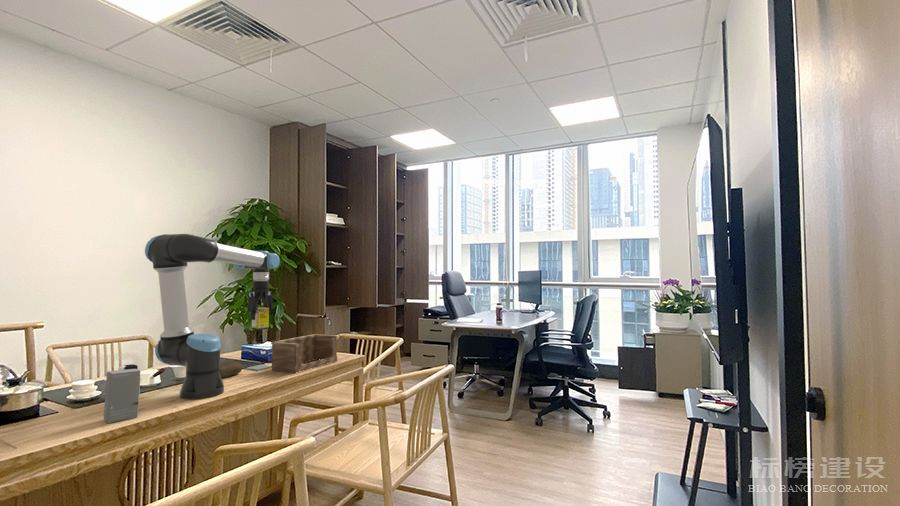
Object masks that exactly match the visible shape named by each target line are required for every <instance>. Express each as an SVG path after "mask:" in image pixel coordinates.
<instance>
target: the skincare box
mask: <svg viewBox="0 0 900 506" xmlns="http://www.w3.org/2000/svg"><path fill="white" fill-rule="evenodd" d="M139 386H140V387H141V369H139V368H138V369H126V370H118V369H116V370H110V371H109V370H108V371H106V380H105V391H104V392H105V394H104V404H103V405H104V407H103V408H104V409H103V420H104V421H105V422H107V424H112V423H116V422H121V421H125V420H129V419H134V418H135V417H136V418H138V417H139V414H138V413H139V402H140V401H139V398H140V395H139Z"/></svg>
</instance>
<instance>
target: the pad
mask: <svg viewBox="0 0 900 506" xmlns="http://www.w3.org/2000/svg"><path fill="white" fill-rule="evenodd" d="M247 369H249V370H248V371H254V370H256V372H259V370H260V371H263V369H264V370H266V369H267V370H268V369H272V365H267V364H258V365H252V366H248V367H245V370H247Z"/></svg>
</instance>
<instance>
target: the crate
mask: <svg viewBox="0 0 900 506" xmlns="http://www.w3.org/2000/svg"><path fill="white" fill-rule="evenodd" d="M338 338H339V335H333V334H320V333H313V334H308V335H303V336H297V337H292V338H287V339H282V340H275V341H271V342H270V344H271V366H272V368H271V371H276V372H283V373H284V372H285V373H290V372H293V373H292V374H297V373H296V372H298V373H300V372H299V371H302V372H304V371H303V370H305V371H307V370H306V369H309V370H311V369H310V368H312V369H314V368H313V367H316V368H318V366H319V367H322V366H321V365H323V366H325V365H324V364H326V365H328V364H327V363H330V364H332V363H331V362H333V363H336V362H335V361H337V362H338V356H337V349H338V347H337V343H338V341H337V340H338ZM313 359H315V360H314V361H313ZM316 359H320V360H316ZM309 360H311V362H310V361H309ZM305 361H307V362H308V363H307V362H305ZM302 362H303V363H302Z"/></svg>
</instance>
